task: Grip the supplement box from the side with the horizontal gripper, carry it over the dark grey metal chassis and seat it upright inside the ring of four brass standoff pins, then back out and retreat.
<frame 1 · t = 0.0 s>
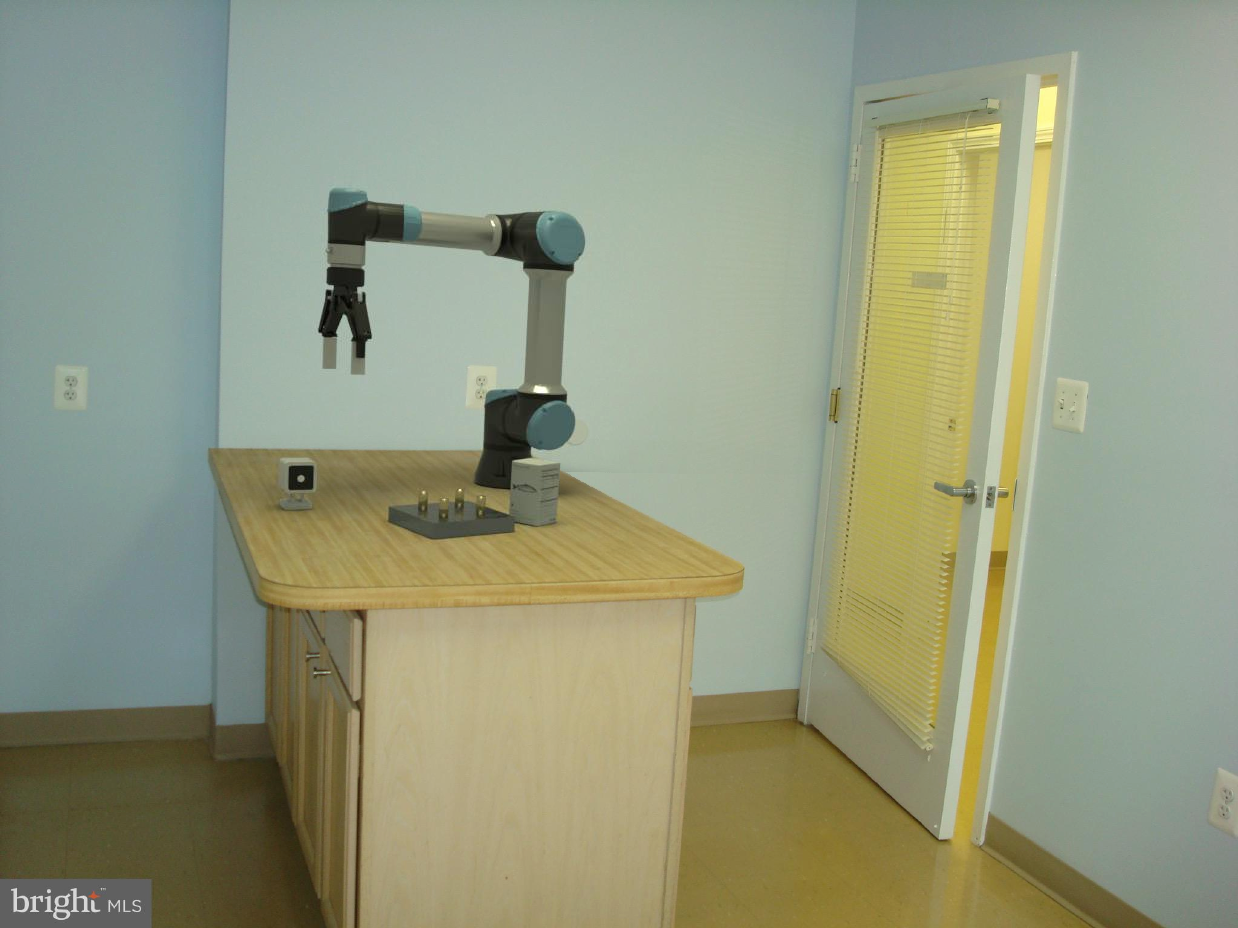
hand: (343, 371, 237), 28 cm above the countertop, tool pointing down, fingers open, 13 cm apart
security camera: (296, 508, 236), on the countertop
supplement box: (532, 522, 237), on the countertop
chassis: (450, 526, 227), on the countertop
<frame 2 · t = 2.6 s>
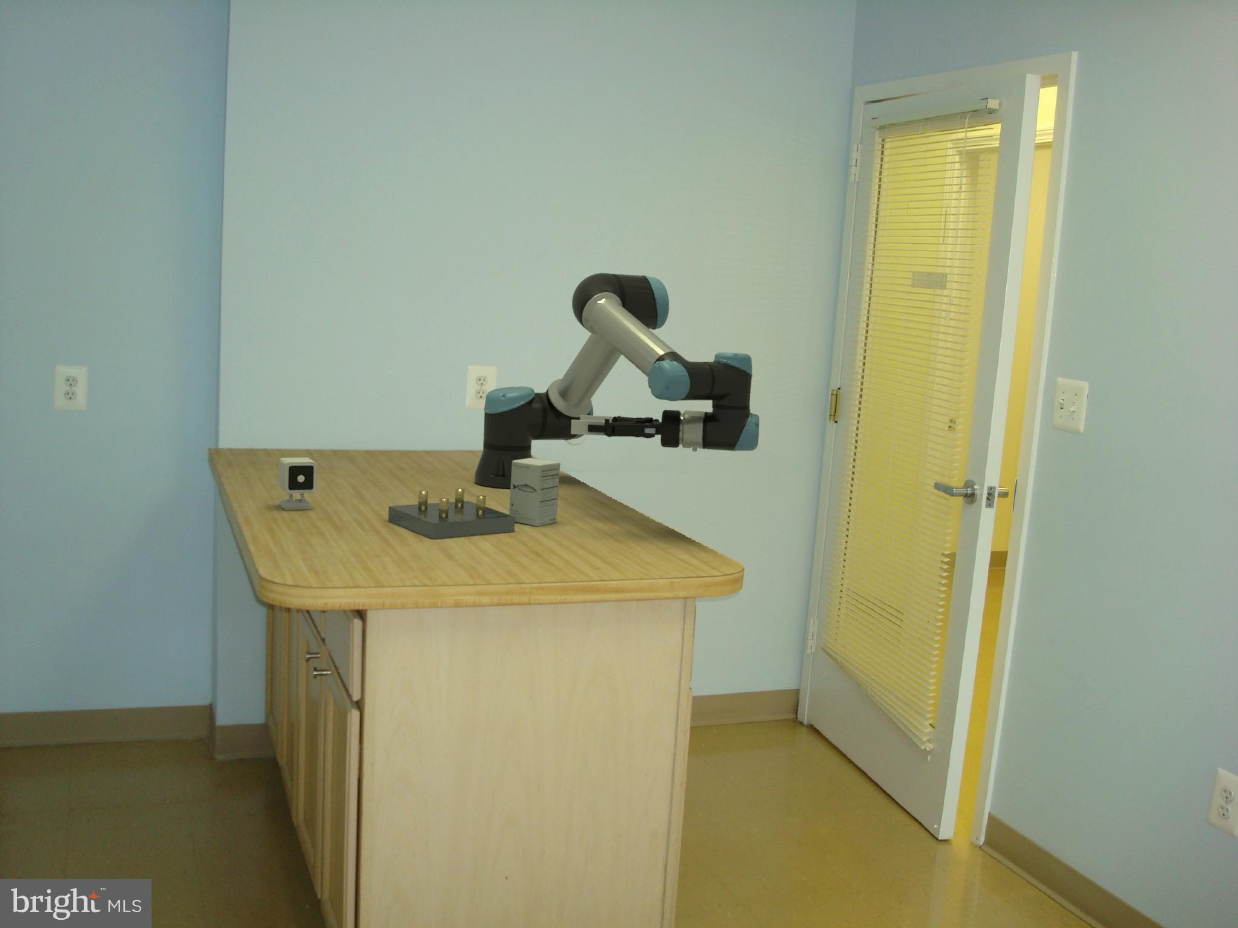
hand: (575, 424, 233), 21 cm above the countertop, tool horizontal, fingers open, 13 cm apart
nothing on the countertop moved.
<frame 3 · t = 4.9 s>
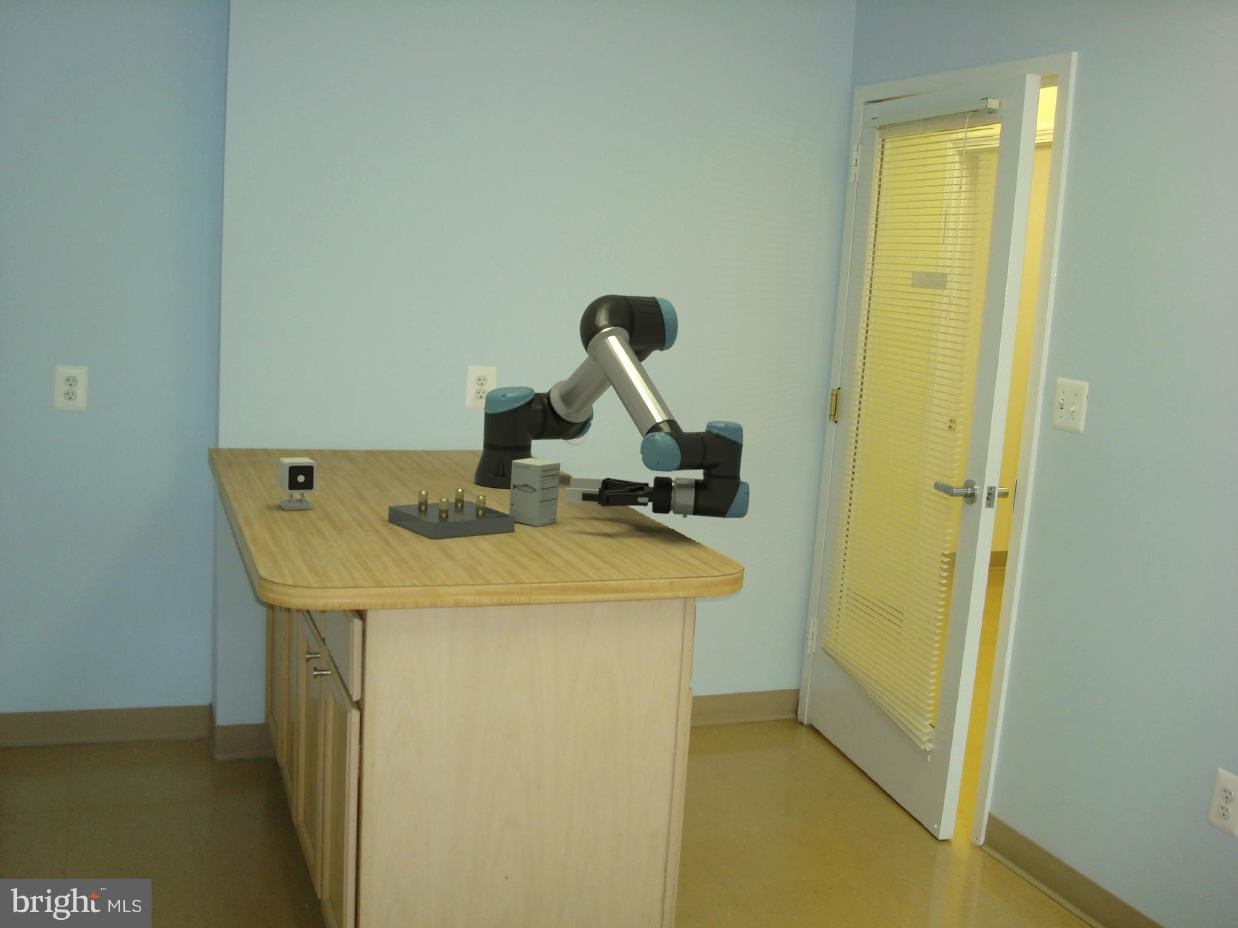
hand: (567, 489, 235), 7 cm above the countertop, tool horizontal, fingers open, 13 cm apart
nothing on the countertop moved.
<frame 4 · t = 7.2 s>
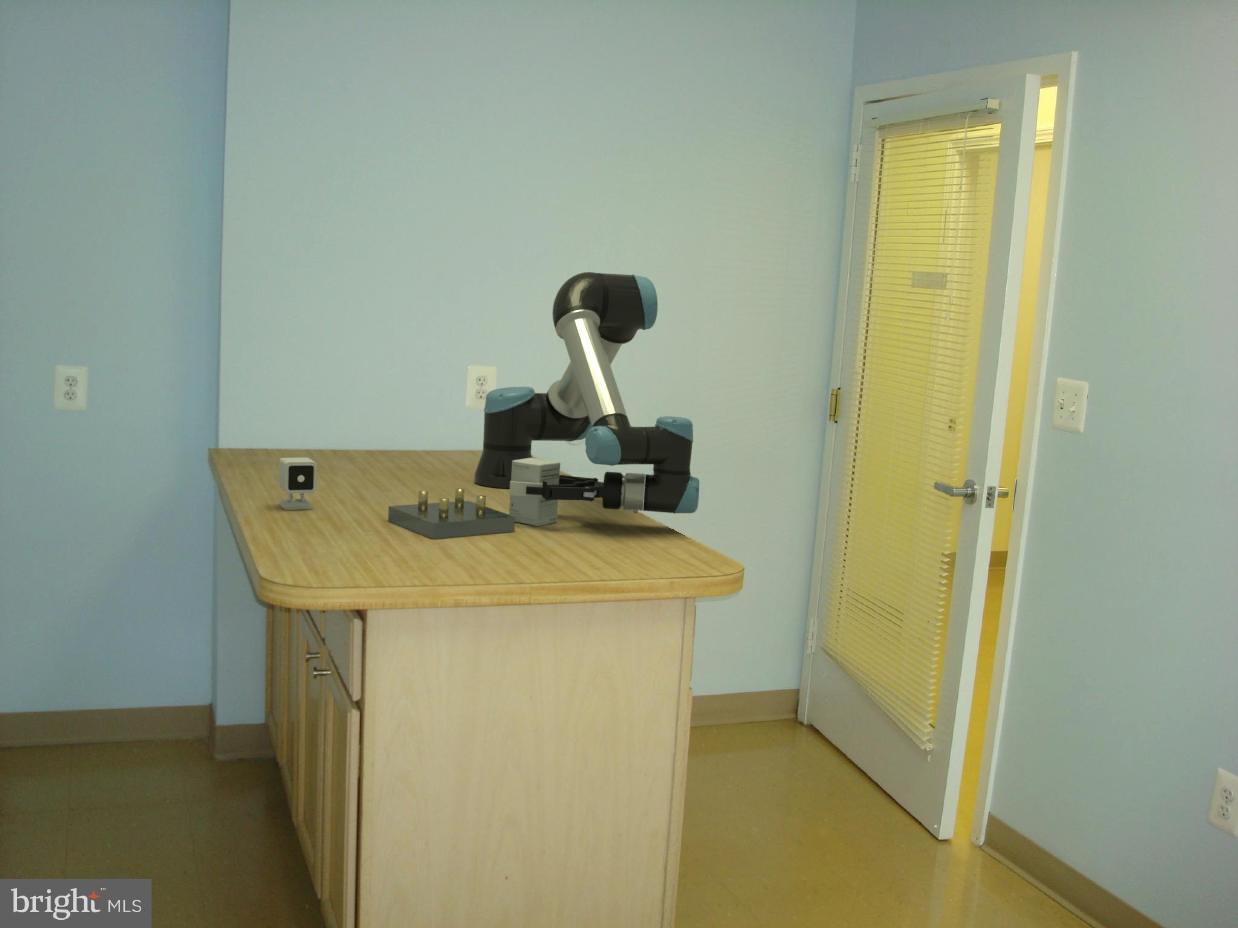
hand: (513, 484, 236), 8 cm above the countertop, tool horizontal, fingers closed on supplement box, 10 cm apart
supplement box: (532, 522, 237), on the countertop, touching gripper
everything else where it was.
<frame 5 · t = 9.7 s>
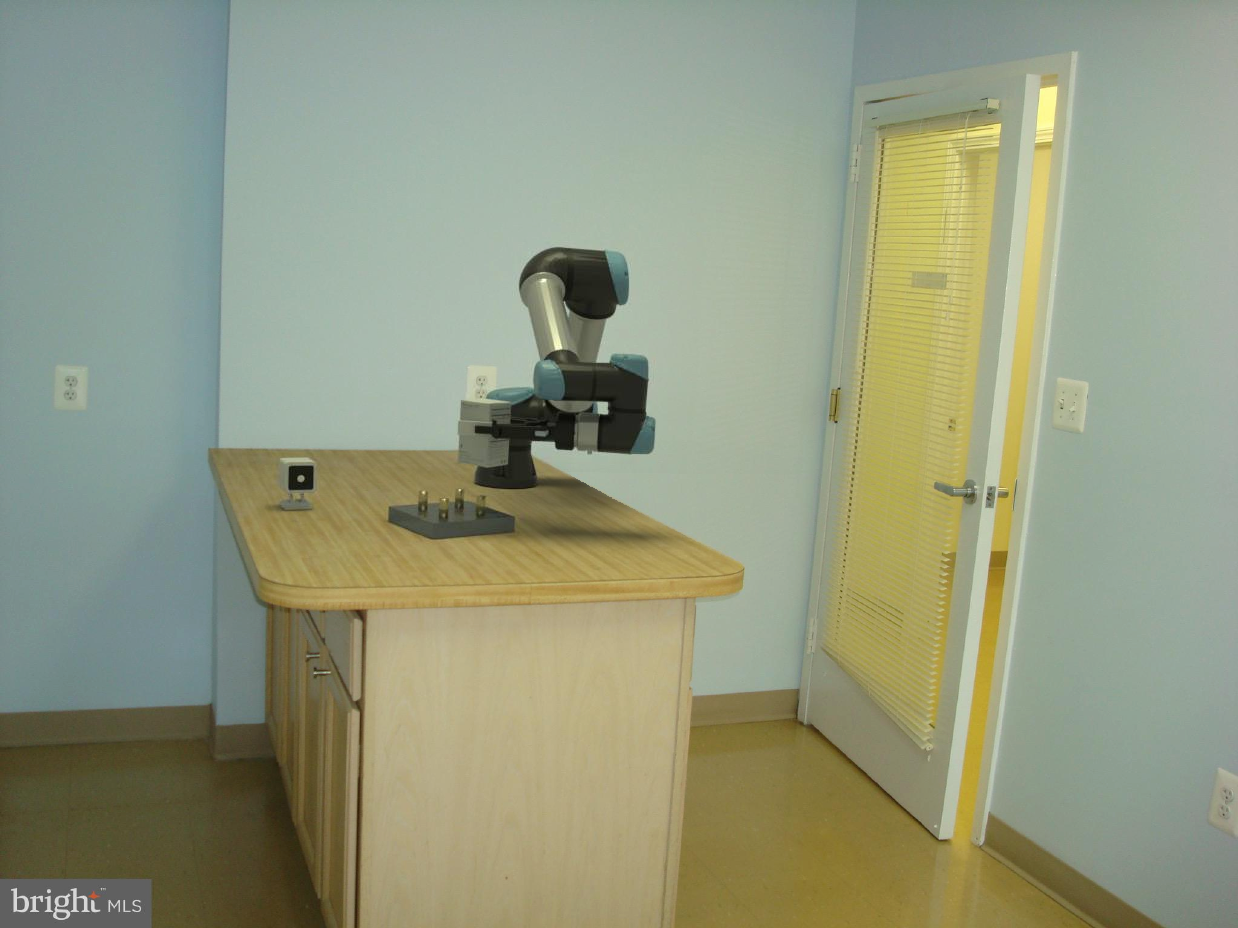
hand: (462, 424, 226), 20 cm above the countertop, tool horizontal, fingers closed on supplement box, 10 cm apart
supplement box: (483, 465, 227), point 12 cm above the countertop, touching gripper
everything else where it was.
when the fingers open (12 cm above the countertop, at t = 12.1 s): supplement box drops 1 cm, resting on chassis.
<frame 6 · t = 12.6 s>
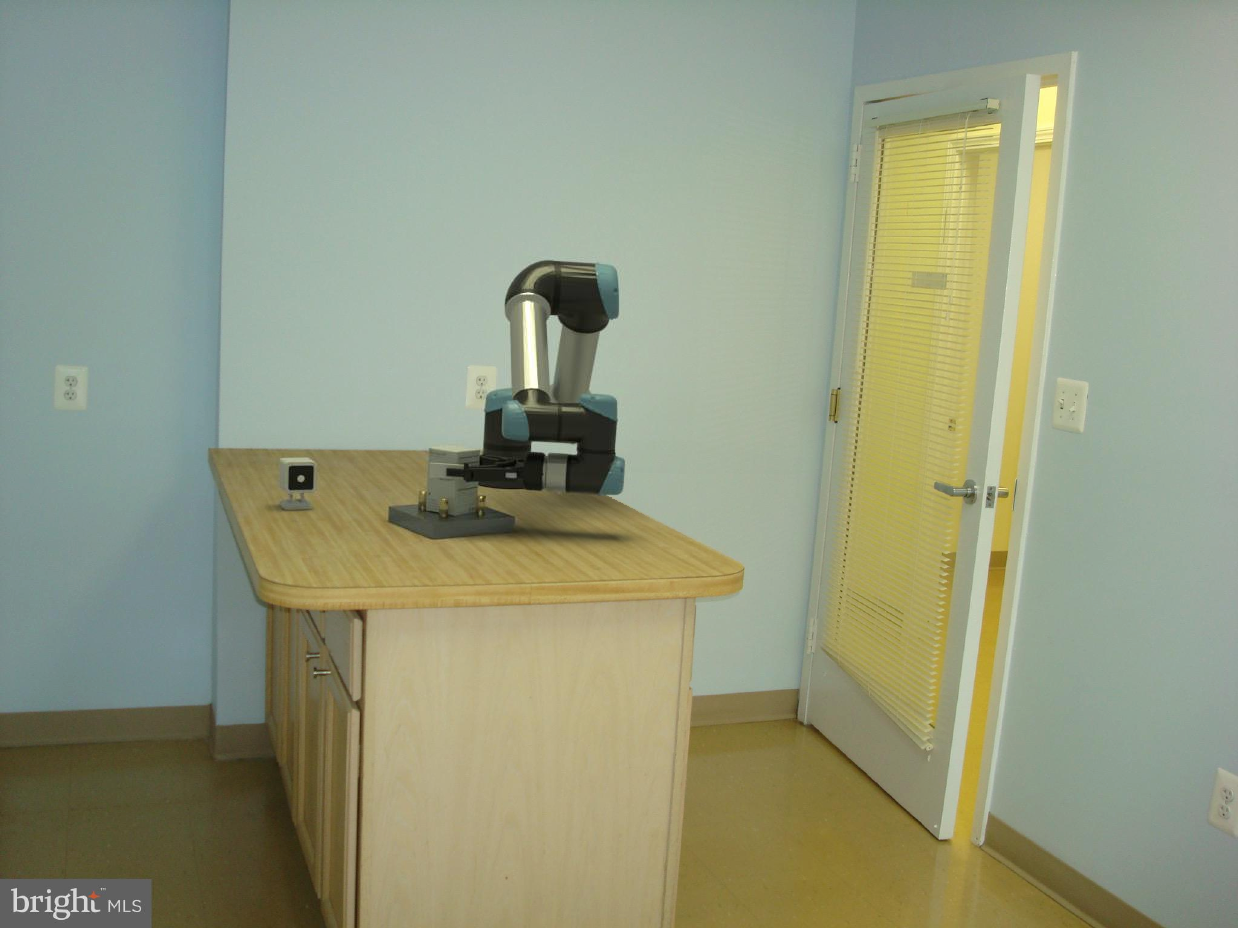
hand: (436, 464, 225), 12 cm above the countertop, tool horizontal, fingers open, 13 cm apart
supplement box: (451, 512, 226), point 3 cm above the countertop, touching chassis
everything else where it was.
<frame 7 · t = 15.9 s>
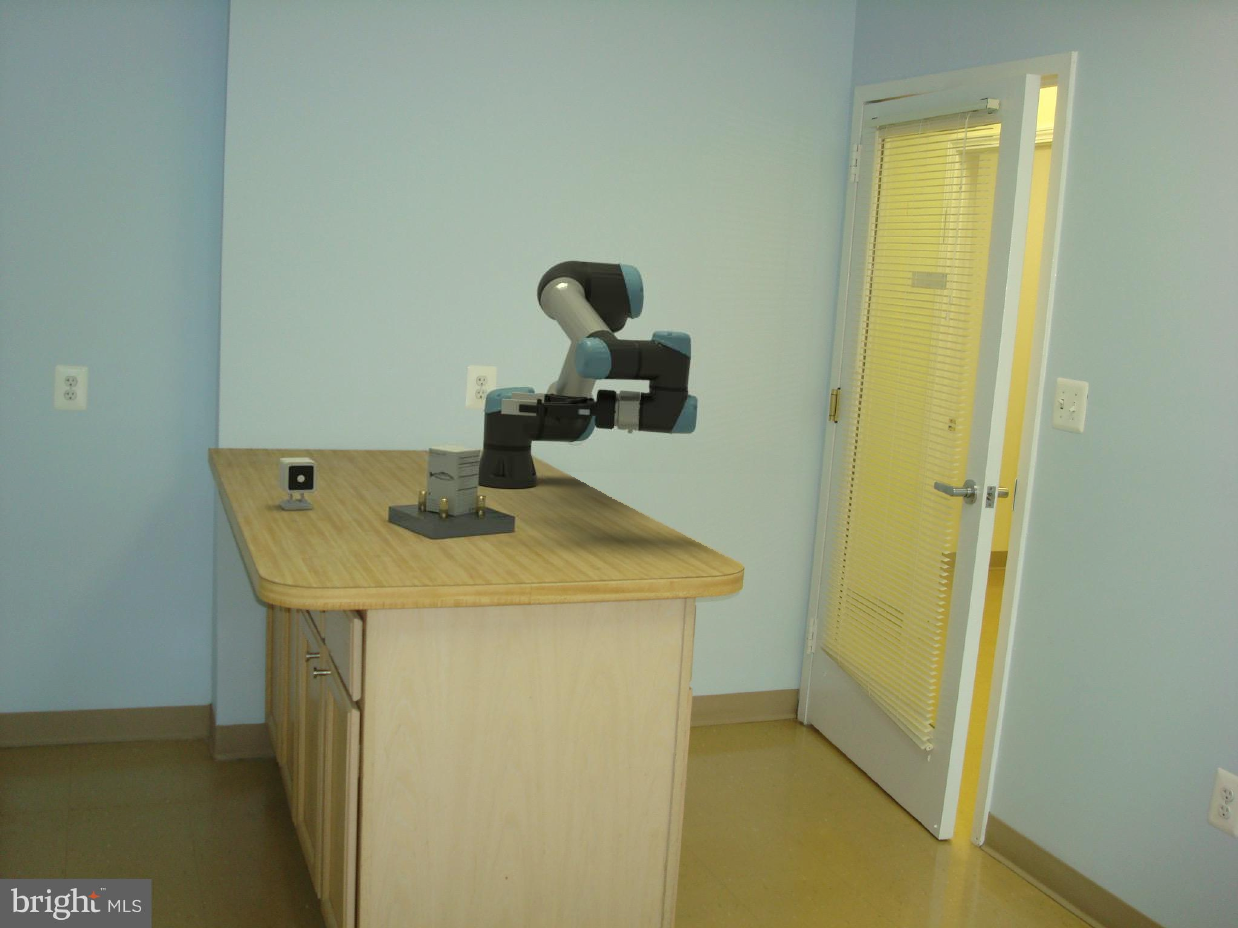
hand: (506, 402, 223), 25 cm above the countertop, tool horizontal, fingers open, 13 cm apart
nothing on the countertop moved.
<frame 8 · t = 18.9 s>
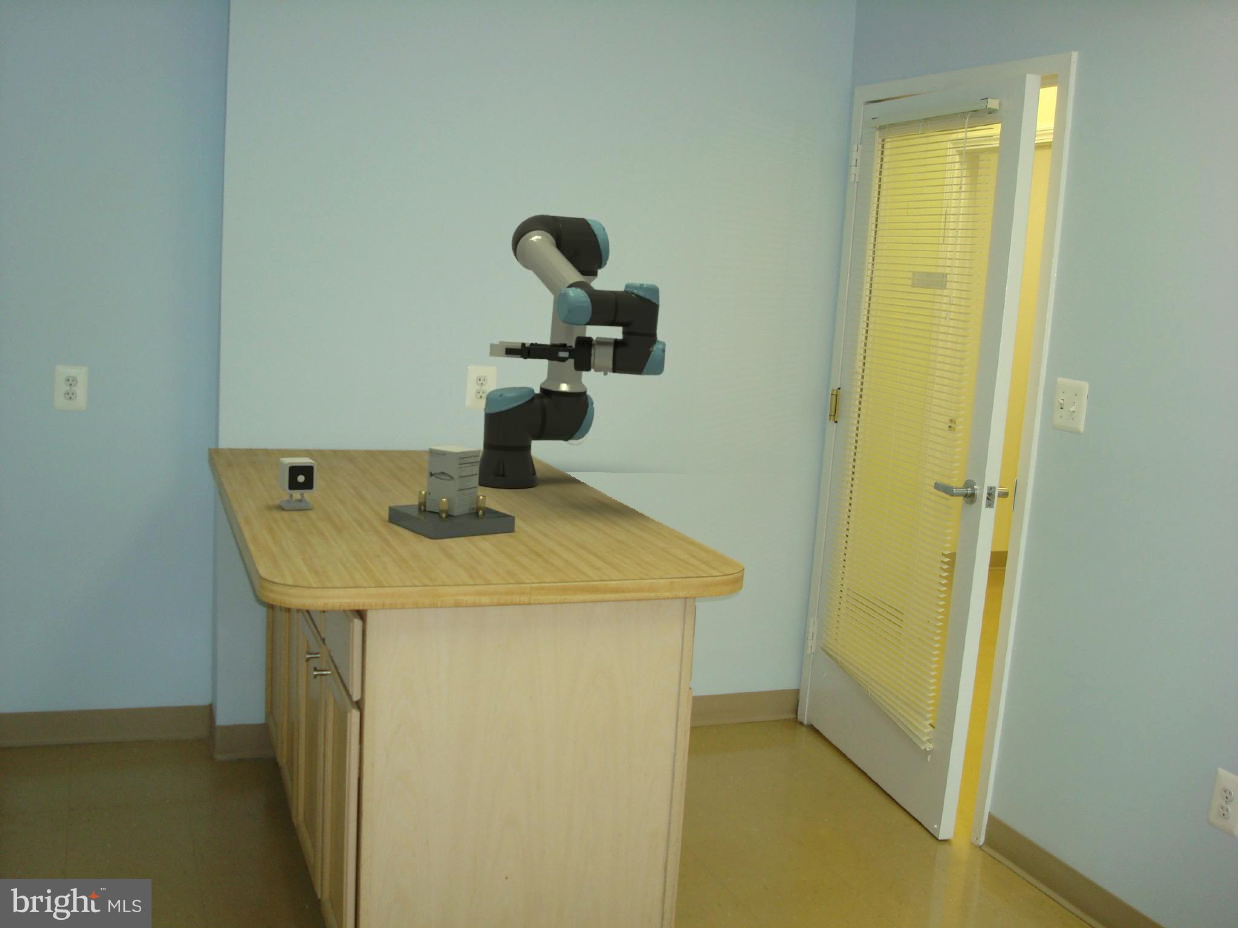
hand: (494, 348, 248), 34 cm above the countertop, tool horizontal, fingers open, 13 cm apart
nothing on the countertop moved.
at the end: supplement box 0.1 cm off-centre on the chassis, point 2.8 cm above the chassis's base; supplement box tilted 0°; the gripper is holding nothing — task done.
